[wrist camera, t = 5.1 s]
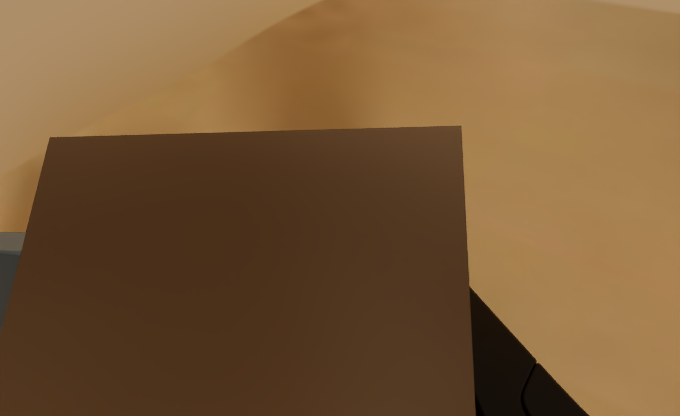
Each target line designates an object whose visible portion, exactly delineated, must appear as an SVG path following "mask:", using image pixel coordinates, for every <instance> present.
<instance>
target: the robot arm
mask: <svg viewBox="0 0 680 416" xmlns="http://www.w3.org/2000/svg"><path fill="white" fill-rule="evenodd" d="M469 291H470V311H471V331H472V351H473V371H474V391H475V411H476V416H589V415H588V414H587V413H586V412H585V411H584V410H583V409H582V408H581V407H580V406H579V405H578V404H577V403H576V402H575V401H574V400H573V399H572V398H571V397H570V396H569V395H568V393H567V392H566V391H565V390H564V389H563V388H562V387H561V386H560V385H559V384H558V383H557V382H556V381H555V380H554V379H553V378H552V377H551V375H550V374H549V373H548V372H547V371H546V370H545V369H544V368H543V367H542V366H541V364H539V363H536V362H537V361H536V359H535V358H534V357H533V356H532V355H531V354H530V353H529V351H528V350H527V349H526V348H525V347H524V346H523V345H522V344H521V343H520V342H519V340H518V339H517V338H516V337H515V336H514V335H513V334H512V333H511V332H510V331H509V329H508V328H507V327H506V326H505V325H504V324H503V323H502V322H501V321H500V319H499V318H498V317H497V316H496V315H495V314H494V313H493V312H492V311H491V310H490V308H489V307H488V306H487V305H486V304H485V303H484V302H483V301H482V300H481V299H480V297H479V296H478V295H477V294H476V293H475V292H474V291H473V290H472V289H471V288H470V286H469Z"/></svg>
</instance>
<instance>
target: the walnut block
mask: <svg viewBox="0 0 680 416" xmlns="http://www.w3.org/2000/svg"><path fill="white" fill-rule="evenodd" d="M0 416H476V411H475V391H474V371H473V351H472V331H471V311H470V291H469V271H468V251H467V231H466V211H465V191H464V171H463V151H462V131H461V126H435V127H400V128H365V129H330V130H295V131H260V132H225V133H190V134H155V135H120V136H85V137H51V138H50V139H49V143H48V147H47V151H46V155H45V159H44V163H43V167H42V171H41V175H40V179H39V183H38V187H37V191H36V195H35V198H34V202H33V206H32V210H31V214H30V218H29V222H28V226H27V230H26V234H25V238H24V242H23V246H22V250H21V254H20V258H19V262H18V266H17V270H16V274H15V278H14V282H13V286H12V290H11V294H10V298H9V302H8V306H7V310H6V314H5V318H4V322H3V325H2V329H1V333H0Z"/></svg>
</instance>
